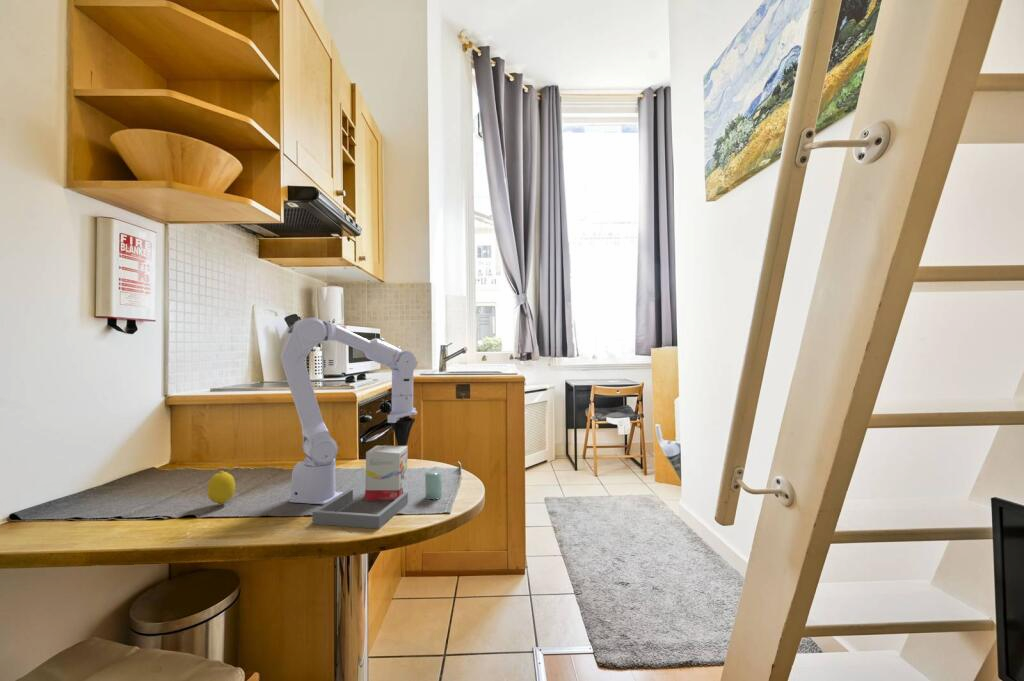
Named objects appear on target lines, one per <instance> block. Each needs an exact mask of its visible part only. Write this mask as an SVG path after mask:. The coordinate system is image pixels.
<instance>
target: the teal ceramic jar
mask: <svg viewBox="0 0 1024 681" xmlns="http://www.w3.org/2000/svg"><path fill="white" fill-rule="evenodd" d="M424 474H425V475H424V476H425V477H424V478H425V481H424V482H425V484H424V488H425V491H424V492H425V494H424V495H425V496H424V497H426V498H428V499H437V498H440V497H441V496H442V494H443V493H442V491H443V489H442V485H443V482H442V481H443V480H442V479H443V477H442V475H443V472H442V471H440V470H429V471H426V472H425V473H424ZM426 498H425V499H426ZM441 498H442V497H441ZM441 498H440V499H441ZM428 499H427V500H428ZM437 500H438V499H437Z"/></svg>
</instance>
